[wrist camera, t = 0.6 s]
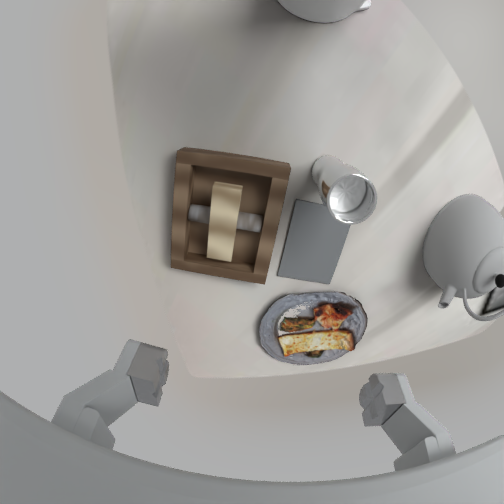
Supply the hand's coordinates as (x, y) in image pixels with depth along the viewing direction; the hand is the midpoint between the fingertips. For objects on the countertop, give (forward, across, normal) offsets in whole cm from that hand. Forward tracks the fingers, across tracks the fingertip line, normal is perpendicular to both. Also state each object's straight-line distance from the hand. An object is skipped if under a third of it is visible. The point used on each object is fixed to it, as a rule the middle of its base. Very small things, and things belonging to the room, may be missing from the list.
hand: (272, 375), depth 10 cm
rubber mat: (+40, -11, +13) cm, 44 cm away
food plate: (+41, -17, +34) cm, 56 cm away
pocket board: (+40, +6, +10) cm, 42 cm away
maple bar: (+36, +6, +10) cm, 38 cm away
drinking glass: (+41, -10, -1) cm, 42 cm away
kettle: (+41, -45, +6) cm, 61 cm away
